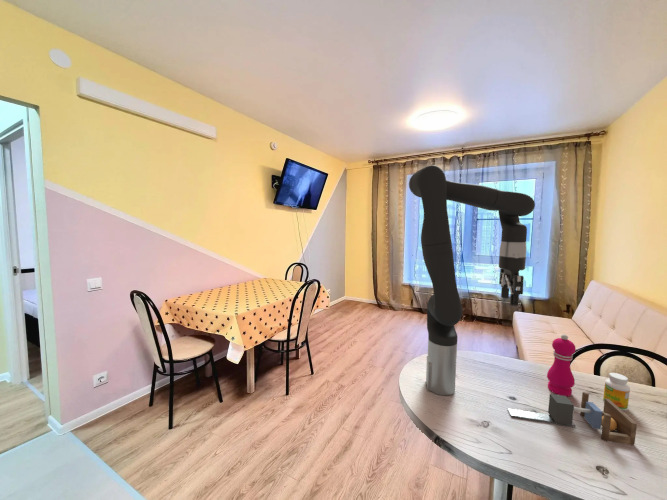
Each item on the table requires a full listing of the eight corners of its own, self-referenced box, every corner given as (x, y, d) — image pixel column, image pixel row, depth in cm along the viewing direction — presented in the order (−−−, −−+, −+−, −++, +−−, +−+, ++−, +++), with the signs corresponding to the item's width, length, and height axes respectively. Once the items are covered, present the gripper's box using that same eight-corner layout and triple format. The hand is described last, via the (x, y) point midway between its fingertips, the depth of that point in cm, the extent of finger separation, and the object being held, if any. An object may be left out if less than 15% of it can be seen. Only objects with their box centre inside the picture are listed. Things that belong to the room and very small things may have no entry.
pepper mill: (578, 399, 88) (585, 340, 86) (553, 396, 90) (558, 338, 87) (564, 385, 95) (570, 331, 93) (541, 383, 97) (546, 329, 94)
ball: (620, 422, 73) (621, 434, 73) (610, 413, 77) (611, 424, 77) (604, 421, 74) (605, 433, 74) (595, 412, 78) (596, 424, 78)
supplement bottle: (599, 402, 87) (602, 373, 86) (608, 397, 89) (611, 369, 88) (622, 413, 82) (626, 382, 81) (630, 408, 84) (634, 378, 83)
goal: (603, 440, 72) (606, 416, 71) (579, 413, 82) (581, 391, 81) (634, 445, 70) (638, 421, 69) (606, 417, 80) (608, 395, 79)
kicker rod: (555, 422, 77) (557, 402, 76) (548, 412, 81) (549, 393, 80) (600, 429, 74) (602, 409, 74) (590, 419, 78) (593, 399, 78)
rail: (511, 417, 80) (511, 415, 80) (507, 410, 83) (507, 408, 83) (575, 427, 76) (575, 425, 76) (569, 419, 79) (569, 417, 79)
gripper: (493, 252, 99) (490, 295, 101) (507, 257, 86) (504, 307, 87) (516, 252, 97) (513, 296, 99) (534, 258, 84) (530, 309, 86)
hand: (509, 301), depth 93 cm, fingers open, 8 cm apart
